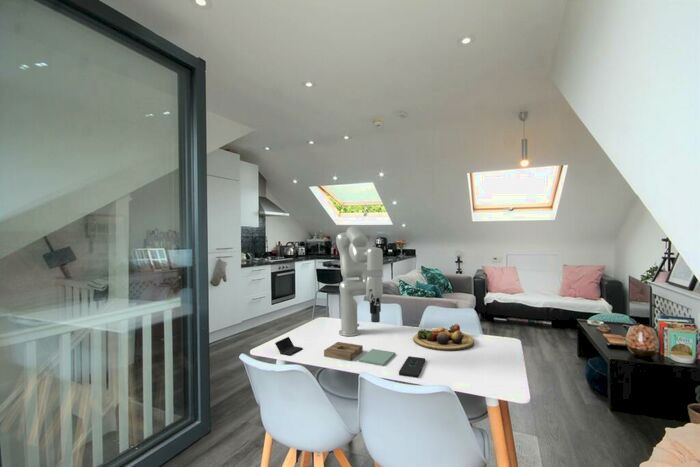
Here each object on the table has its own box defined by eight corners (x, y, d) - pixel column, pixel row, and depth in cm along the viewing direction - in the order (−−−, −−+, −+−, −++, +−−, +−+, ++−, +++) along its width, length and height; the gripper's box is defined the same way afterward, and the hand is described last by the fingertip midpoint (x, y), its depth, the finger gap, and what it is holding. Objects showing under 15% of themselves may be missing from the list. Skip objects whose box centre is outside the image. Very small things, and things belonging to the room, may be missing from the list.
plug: (373, 319, 159) (373, 301, 159) (381, 320, 157) (380, 301, 157) (369, 321, 155) (369, 302, 155) (377, 322, 153) (377, 303, 153)
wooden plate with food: (445, 330, 201) (445, 317, 201) (488, 345, 172) (487, 329, 172) (401, 339, 187) (401, 324, 187) (440, 356, 158) (439, 339, 158)
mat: (372, 350, 165) (372, 348, 165) (395, 354, 160) (395, 352, 160) (358, 361, 151) (358, 359, 151) (383, 366, 146) (383, 363, 146)
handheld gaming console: (293, 353, 159) (283, 335, 162) (282, 361, 160) (272, 343, 163) (304, 348, 170) (294, 332, 173) (293, 356, 171) (284, 340, 174)
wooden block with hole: (338, 347, 171) (338, 341, 171) (362, 351, 165) (362, 345, 165) (324, 356, 158) (324, 350, 158) (350, 361, 152) (350, 354, 152)
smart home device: (426, 358, 152) (418, 375, 133) (426, 361, 152) (418, 379, 133) (408, 355, 155) (398, 372, 136) (408, 359, 155) (398, 376, 136)
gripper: (374, 271, 166) (375, 308, 165) (360, 275, 151) (360, 315, 150) (388, 272, 162) (389, 309, 162) (375, 276, 147) (375, 317, 147)
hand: (375, 312), depth 156 cm, fingers closed on plug, 4 cm apart
